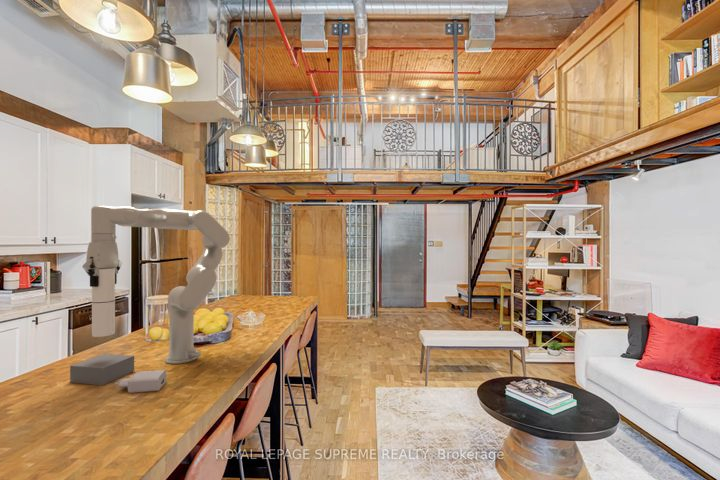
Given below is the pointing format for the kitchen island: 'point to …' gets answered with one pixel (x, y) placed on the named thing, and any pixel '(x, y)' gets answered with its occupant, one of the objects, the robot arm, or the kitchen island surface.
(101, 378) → the charcoal block
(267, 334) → the kitchen island surface
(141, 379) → the charger
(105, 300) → the cylindrical container
